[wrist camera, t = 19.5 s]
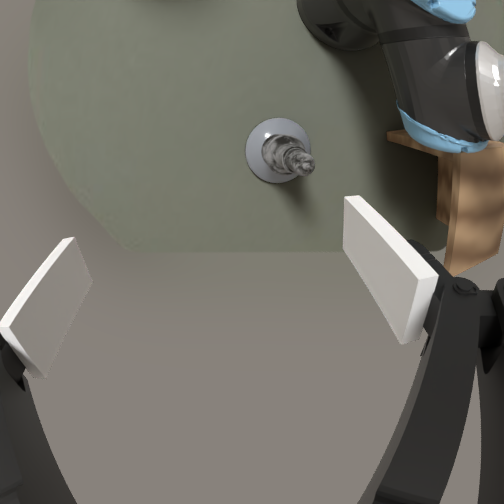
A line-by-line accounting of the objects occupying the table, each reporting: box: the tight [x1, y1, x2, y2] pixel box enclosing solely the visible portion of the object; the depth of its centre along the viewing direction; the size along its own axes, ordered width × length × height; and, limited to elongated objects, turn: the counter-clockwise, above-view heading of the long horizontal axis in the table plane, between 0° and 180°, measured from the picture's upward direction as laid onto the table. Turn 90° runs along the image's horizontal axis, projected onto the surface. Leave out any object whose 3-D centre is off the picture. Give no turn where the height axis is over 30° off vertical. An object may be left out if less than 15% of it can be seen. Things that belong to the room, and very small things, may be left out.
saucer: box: [245, 118, 310, 183], centre depth 44 cm, size 10×10×1 cm
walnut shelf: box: [387, 129, 504, 277], centre depth 44 cm, size 20×15×18 cm
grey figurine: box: [261, 134, 315, 176], centre depth 38 cm, size 6×6×12 cm
